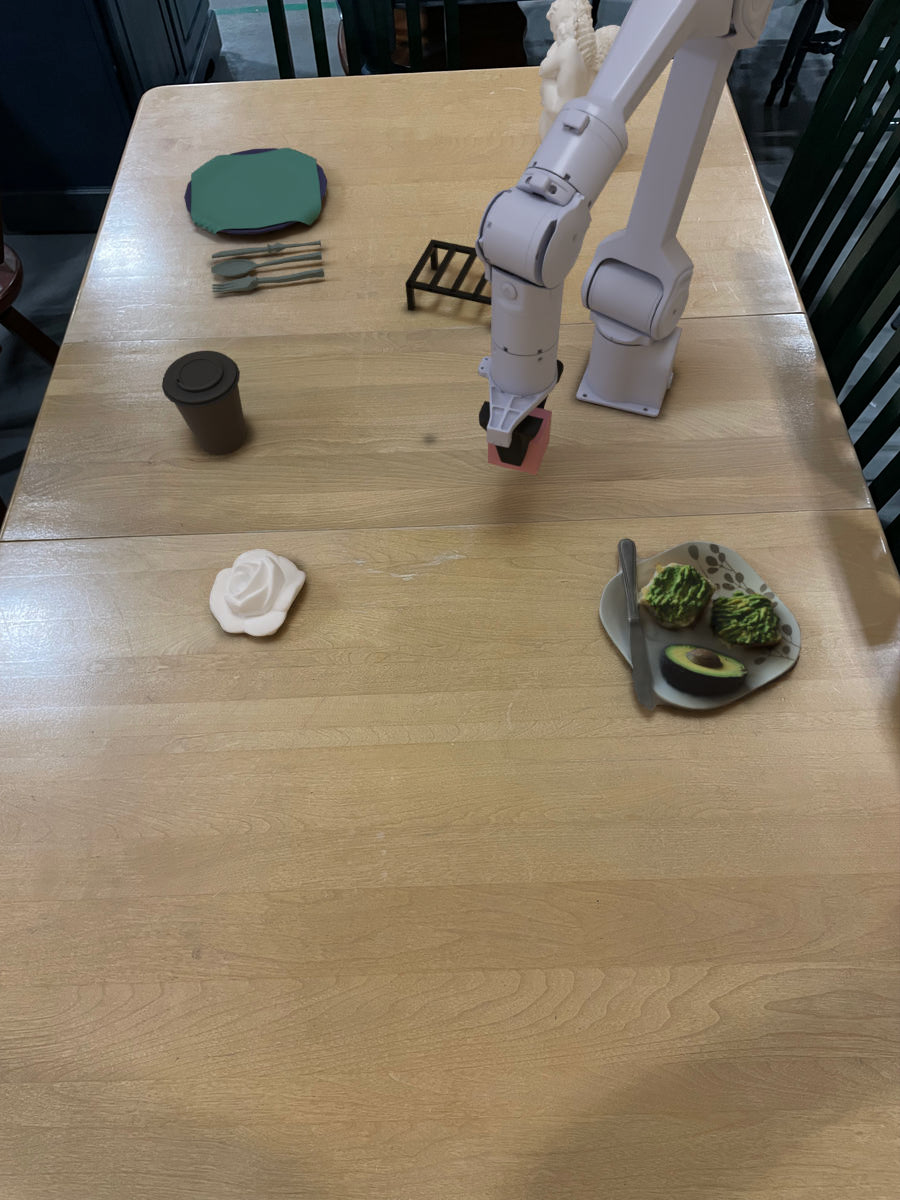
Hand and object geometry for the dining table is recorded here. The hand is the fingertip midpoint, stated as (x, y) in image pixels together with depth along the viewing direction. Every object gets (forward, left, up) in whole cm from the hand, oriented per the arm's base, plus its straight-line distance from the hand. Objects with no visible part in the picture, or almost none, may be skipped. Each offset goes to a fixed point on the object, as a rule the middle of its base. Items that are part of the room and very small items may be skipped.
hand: (519, 443), depth 83 cm
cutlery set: (+48, -34, -9) cm, 60 cm away
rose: (+20, +21, -9) cm, 30 cm away
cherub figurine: (+10, -59, -9) cm, 61 cm away
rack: (+16, -28, -8) cm, 34 cm away
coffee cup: (+34, +3, -9) cm, 35 cm away
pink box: (0, 0, -1) cm, 1 cm away
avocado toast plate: (-21, +11, -9) cm, 25 cm away
